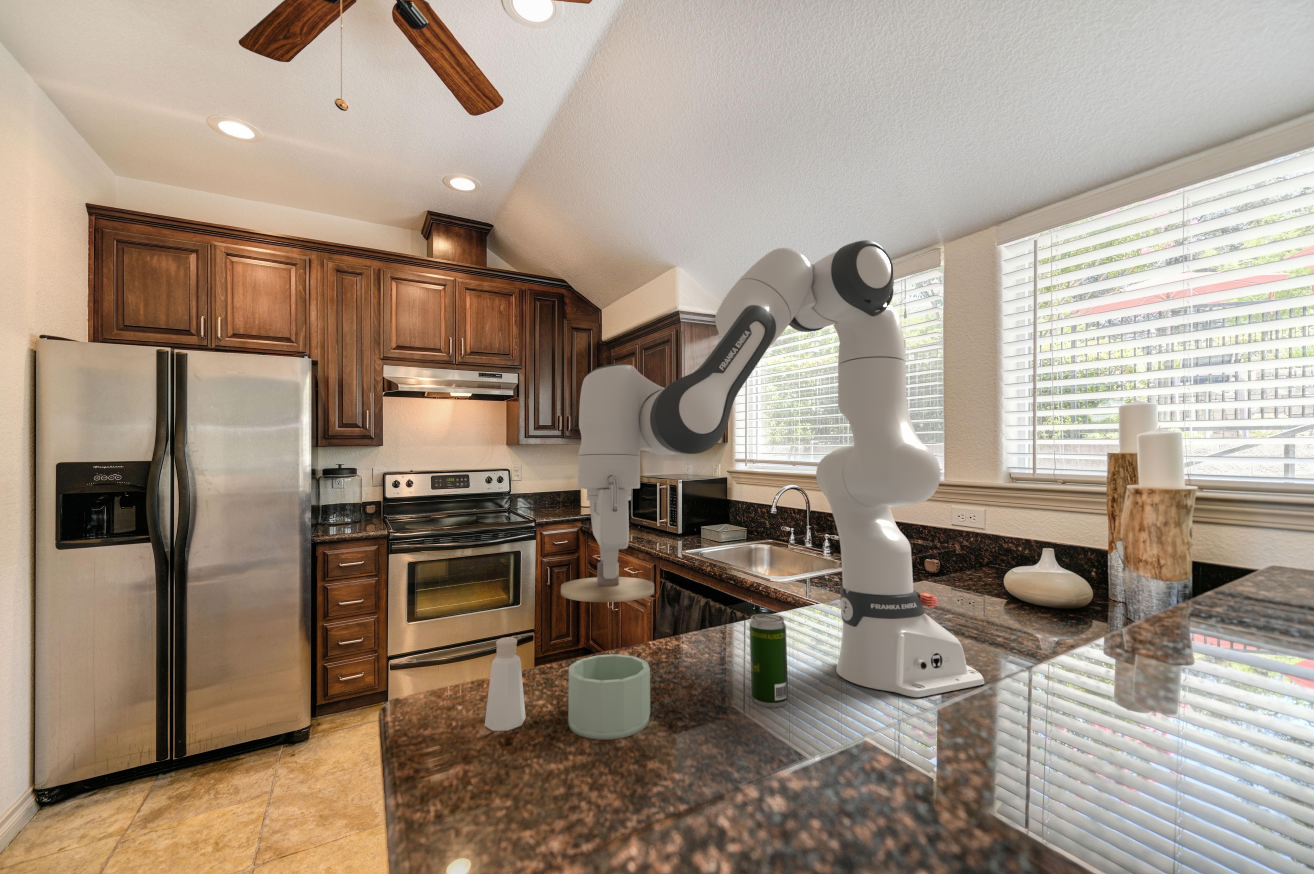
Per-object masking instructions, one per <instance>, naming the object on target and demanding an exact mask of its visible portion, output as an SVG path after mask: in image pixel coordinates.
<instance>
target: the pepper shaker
mask: <svg viewBox="0 0 1314 874" xmlns="http://www.w3.org/2000/svg"><path fill="white" fill-rule="evenodd" d="M517 644H518V639H517V638H515V637H512V636H511V637H509V636H508V637H501V638H499V639H497V640H496V642H495V645H496V656H495V658H494V659H492V662H491V670H490V675H489V684H488V685H489V686H488V693H487V694H488V695H487V701H486V710H485V717H484V718H485V719H484V726H485V727H486V728H488V729H489V730H491V731H492V732H505V731H507V732H508V731H511V730H514V729H516V728H519V727H522V725H523V723H524V722H525V720H526V709H525V708H526V706H525V697H524V685H523V684H524V683H523V672H522V663H521V657H520V656H519V655H517Z"/></svg>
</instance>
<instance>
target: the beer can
mask: <svg viewBox="0 0 1314 874" xmlns="http://www.w3.org/2000/svg"><path fill="white" fill-rule="evenodd" d="M748 626H749V650H750V651H749V655H750V656H749V657H750V660H749V661H750V689H751V690H750V691H751V697H752V700H753V702H754V704H756V705H758V706H761V707H765V708H781V707H784V706H785V705H786V704H787V702H788V699H789V686H788V685H789V683H788V682H789V679H788V675H789V674H788V650H787V644H788V643H787V625H786V623H785V617H784V616H781V615H779V614H773V613H772V614H771V613H757V614H753V615H751V616H750V622H749V625H748Z"/></svg>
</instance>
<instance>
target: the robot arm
mask: <svg viewBox="0 0 1314 874" xmlns="http://www.w3.org/2000/svg"><path fill="white" fill-rule="evenodd" d="M894 271H895V269H894V265H893V261H892V259H891V256H890V255H889V254H888V252H887V251H886V250H885V249H884V247H882V246H881V245H880V244H878V243H877V242H875V241H873V240H868V239H866V240H865V239H864V240H858V241H855V242H852V243H851V242H850V243H849V244H846V245H843V246H842V247H840V248H839V249H838V250H837V251H835V252H832V253H830V254H828V255H826V256H825V257H823V258H821V259H819V260H817V262H815V263H813V264H811V263H810V261H809V259H808V258H807V257H806V256H805V255H804V254H802V253H801V252H800V251H798V250H796V249H793V248H789V247H779V248H775V249H773V250H771V251H769V252H768V253H766V254H765V255H764V256H762V258H760V259H759V260H758V261H756V262H755V263H754V264H752V266H751V267H749V269H748V270H746V272H745V273H743V275H742V276H740V278H739V279H738V281H736V282H735V283H734V285H733V286H732V288H730V290H729V291H728V292H727V294H726V295H725V297H724V299H723V300H722V301H721V304H720V305H719V307H718V309H717V311H716V314H715V319H714V320H715V326H716V329H717V332H718V334H719V335H720V337H721V338H720V339H719V340H718V341H717V343H716V344H715V346H714V347H713V348H712V349H711V350H710V352H709V353H708V355H707V356H706V357H705V358H704V360H703V362H701V364H700V366H698V368H697V369H695V370H694V371H693V372H691V373H690V374H687V375H685V376H683V377H679V378H678V379H676V380H674V381H673V382H671V383H670V384H668V385H667V386H665V387H663V386H660V385H659V384H657V383H655V382H653V381H652V380H650V379H648V378H647V377H646V376H644V375H643V374H641V373H640V372H639V371H638V369H636V367H635V366H633V365H632V364H626V363H615V364H614V363H612V364H607V365H603V366H599V367H596V368H595V369H593V370H591V371H589V373H587V375H586V376H585V377H584V379H583V381H582V384H581V389H580V396H579V397H580V398H579V411H578V427H579V431H580V436H581V437H580V438H581V441H580V448H579V450H578V458H577V459H578V461H577V462H578V463H577V464H578V466H577V467H578V469H577V472H578V473H577V476H578V477H577V487H578V489H584V490H586V501H589V510H590V511H589V512H590V519H591V520H590V521H591V528H592V534H593V536H594V538H595V539H596V542H597V544H598V545H599V555H600V556H599V557H600V562H603V576H604V578H606V579H614V578H615V577H616V576H617V562H618V560H619V551H620V550H625V549H627V548H628V547H629V541H630V528H629V526H630V523H629V522H630V520H629V519H630V518H629V517H630V516H629V515H630V512H629V501H631V500H632V490H633V489H640V488H641V452H642V451H643V452H647V453H651V454H653V455H656V456H657V455H658V456H670V455H678V454H686V455H687V454H688V455H689V454H690V455H694V454H695V455H696V454H701V453H704V452H706V451H709V450H711V449H713V447H714V446H716V445H717V444H719V442H720V441H721V439H722V438H723V436H724V434H725V433H726V430H727V427H728V424H729V420H730V417H731V412H732V408H733V405H734V402H735V400H736V397H737V395H738V394H739V392H740V391H741V389H742V388H743V386H744V385H745V383H746V381H747V380H748V379H749V377H750V376H751V374H752V373H753V372H754V369H755V368H756V367H757V365H758V364H759V362H760V361H761V360H762V357H764V354H765V353H766V352H767V350H768V349H769V348H770V347H771V346H772V345H773V344H774V343H775V342H776V341H777V339H778V338H779V337H780V336H781V335H782V334H783V333H784V331H785V330H786V329H787V327H788V326H789V327H791V328H792V329H794V330H795V331H798V332H801V333H803V332H804V333H812V332H817V331H820V330H823V329H824V328H825V327H830V326H833V327H834V329H835V331H836V333H837V337H838V340H839V345H838V360H837V361H838V363H837V364H838V365H837V375H838V376H837V404H838V405H837V407H838V410H839V412H840V414H842V416H844V417H845V418H846V420H847V421H848V424H849V426H850V429H851V433H852V437H853V443H854V444H852V445H845V446H841V447H839V448H836V449H835V450H833V451H831V452H829V453H827V454H826V455H825V456H823V458H822V459H821V460H820V461H819V463H818V465H817V467H816V472H815V473H816V474H815V476H816V477H815V479H816V482H817V485H818V489H819V490H820V491H821V493H822V494H823V495H824V496H825V498H826V500H827V502H828V504H829V507H830V510H831V512H832V516H833V519H834V523H835V525H836V530H837V534H838V538H839V545H840V557H841V559H840V560H841V575H842V585H841V586H840V592H839V593H840V614H841V620H842V633H841V644H840V652H839V657H838V661H837V665H836V668H835V671H836V673H837V675H838V676H840V677H841V678H842V679H844V680H846V681H849V682H850V683H852V684H856V685H859V686H862V687H865V688H869V689H874V690H880V691H886V692H891V693H892V692H893V693H897V694H900V695H903V696H907V697H913V698H921V697H927V696H931V695H937V694H943V693H947V692H952V691H957V690H961V689H967V688H973V687H977V686H981V685H984V684H985V679H984V677H983V675H982V674H981V672H979V671H978V670H976V669H975V668H973V667H971V666H970V665H968V664H967V660H966V656H965V651H964V649H963V646H962V644H961V642H960V640H959V639H958V638H957V637H956V636H955V635H954V634H952V633H951V632H950V631H949V630H947V629H946V628H944V627H943V626H942V625H941V624H939V623H938V622H936V621H935V620H934V619H932V618H931V617H930V616H929V615H928V614H926V613H925V612H926V611H925V609H924V606H927V607H928V608H933V609H934V608H935V607H937V605H938V598H937V597H936V596H935V595H933V594H930V593H928V592H927V593H925V592H924V593H922V594H921V593H920V592H918V591H917V590H915V589H914V579H913V558H912V546H911V543H910V541H909V539H908V538H907V537H906V535H904V533H903V532H902V531H901V530H900V529H899V527H898V525H897V524H896V521H895V518H894V516H893V515H894V514H893V512H892V509H891V508H894V509H896V508H897V509H898V508H906V507H910V506H914V505H916V504H920V503H923V502H925V501H928V500H929V499H930V498H932V496H934V494H935V493H936V491H937V490H938V488H939V485H940V483H941V482H940V481H941V466H940V463H939V461H938V458H937V457H936V455H935V453H934V452H933V451H932V450H931V449H930V448H929V447H928V446H926V445H925V444H924V443H923V442H922V440H921V439H920V438H919V436H918V434H917V432H916V429H915V427H914V425H913V422H912V420H911V416H910V413H909V412H910V411H909V407H908V397H907V394H908V393H907V374H906V371H907V370H906V361H907V360H906V349H905V347H906V346H905V345H906V344H905V338H904V332H903V326H902V323H901V318H900V314H899V312H898V310H896V308H894V307H893V306H892V305H890V304H891V303H892V300H893V297H894V285H895V272H894Z"/></svg>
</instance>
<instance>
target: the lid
mask: <svg viewBox="0 0 1314 874" xmlns="http://www.w3.org/2000/svg"><path fill="white" fill-rule="evenodd" d="M619 566H620V562H618V561H617V576H616V577H615V578H614V579H606V578H604V576H603V562H601V561H600V562H599V561H598V562H597V570H596V571H597V572H596V573H597V574H596V577H595V576H593V577H586V578H585V577H584V578H579V579H573V580H570V581H567V582H564V583H562V584H561V586H560V595H561V596H562V597H563V598H565V599H568V600H573V601H580V602H589V603H616V602H617V603H618V602H619V603H621V602H629V601H636V600H641V599H646V598H649V597H651V596H653V595H654V594H655V583H654V582H652V581H651V580H647V579H643V578H637V577H627V576H620V573H619V572H620V571H619V569H620V567H619Z"/></svg>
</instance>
